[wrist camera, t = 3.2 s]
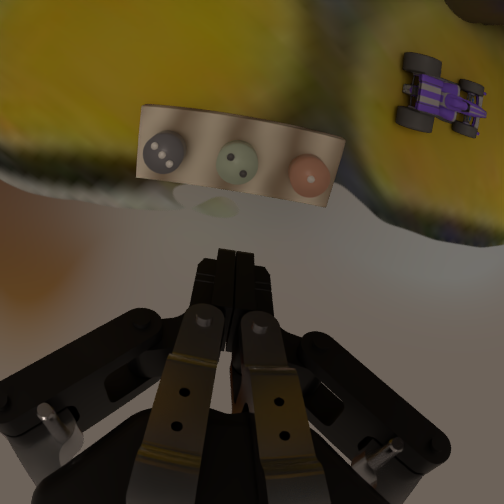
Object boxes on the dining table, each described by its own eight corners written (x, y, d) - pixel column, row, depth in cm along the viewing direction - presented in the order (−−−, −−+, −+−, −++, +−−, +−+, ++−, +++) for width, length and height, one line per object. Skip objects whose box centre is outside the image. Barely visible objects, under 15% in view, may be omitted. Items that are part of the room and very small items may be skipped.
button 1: (329, 158, 34) (335, 165, 32) (319, 192, 37) (324, 201, 35) (292, 150, 34) (296, 156, 32) (284, 185, 36) (286, 194, 34)
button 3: (188, 132, 33) (184, 137, 30) (184, 169, 35) (179, 177, 33) (150, 128, 32) (143, 133, 30) (147, 165, 34) (141, 172, 32)
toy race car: (473, 142, 36) (499, 156, 31) (389, 120, 35) (412, 131, 30) (483, 82, 31) (512, 90, 25) (398, 51, 30) (423, 51, 25)
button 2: (260, 143, 34) (262, 149, 31) (253, 180, 36) (253, 188, 34) (221, 137, 33) (219, 142, 31) (215, 174, 35) (212, 181, 33)
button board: (341, 136, 36) (345, 140, 35) (322, 201, 41) (325, 207, 39) (146, 103, 34) (141, 105, 32) (140, 172, 38) (136, 177, 37)
